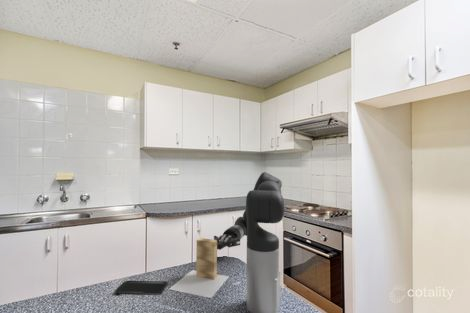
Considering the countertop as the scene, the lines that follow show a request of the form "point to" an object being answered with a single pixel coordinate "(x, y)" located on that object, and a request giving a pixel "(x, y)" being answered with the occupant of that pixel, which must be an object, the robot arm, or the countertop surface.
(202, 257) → the brown flat rectangular block
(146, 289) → the phone
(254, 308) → the robot arm
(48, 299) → the countertop surface
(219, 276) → the white square pad
